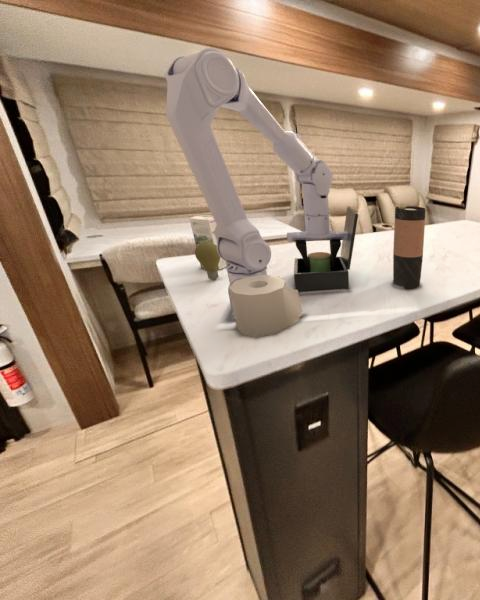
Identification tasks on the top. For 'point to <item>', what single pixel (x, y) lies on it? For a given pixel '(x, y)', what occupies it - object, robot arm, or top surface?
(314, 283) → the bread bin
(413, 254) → the travel mug
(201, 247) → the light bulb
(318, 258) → the green pot
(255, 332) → the toilet tissue
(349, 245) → the bin lid
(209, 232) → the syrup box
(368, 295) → the top surface
